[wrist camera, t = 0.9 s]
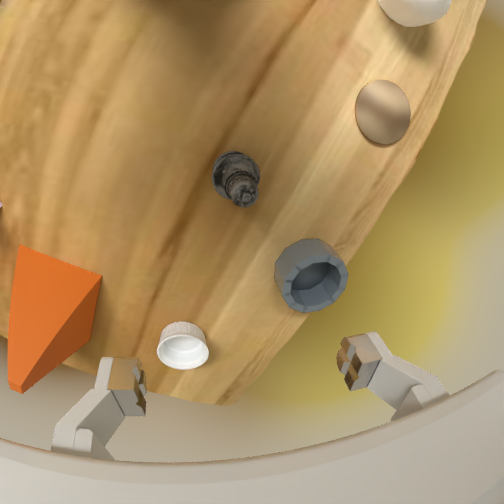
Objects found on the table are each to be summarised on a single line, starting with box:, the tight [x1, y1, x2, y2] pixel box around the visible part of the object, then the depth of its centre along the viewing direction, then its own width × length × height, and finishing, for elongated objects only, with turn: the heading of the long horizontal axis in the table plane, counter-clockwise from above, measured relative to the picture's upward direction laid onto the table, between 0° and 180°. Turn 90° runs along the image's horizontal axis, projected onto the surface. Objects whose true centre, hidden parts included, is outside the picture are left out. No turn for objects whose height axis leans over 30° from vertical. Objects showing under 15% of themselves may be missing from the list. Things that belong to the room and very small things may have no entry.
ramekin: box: [157, 322, 209, 369], centre depth 49 cm, size 9×9×4 cm
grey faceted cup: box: [274, 239, 348, 313], centre depth 46 cm, size 10×10×5 cm
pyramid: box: [8, 245, 102, 394], centre depth 34 cm, size 16×16×20 cm
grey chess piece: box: [212, 151, 260, 207], centre depth 33 cm, size 6×6×12 cm
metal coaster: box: [355, 80, 411, 144], centre depth 37 cm, size 10×10×1 cm
